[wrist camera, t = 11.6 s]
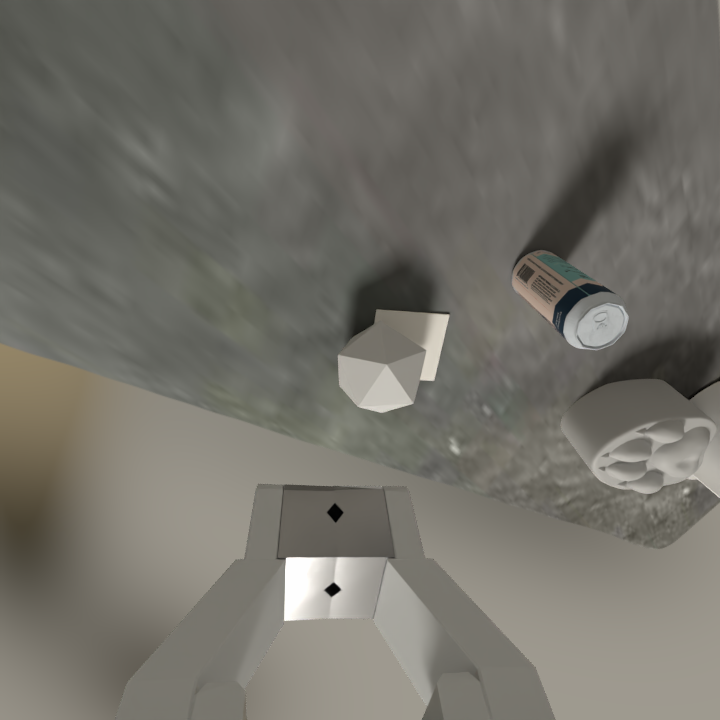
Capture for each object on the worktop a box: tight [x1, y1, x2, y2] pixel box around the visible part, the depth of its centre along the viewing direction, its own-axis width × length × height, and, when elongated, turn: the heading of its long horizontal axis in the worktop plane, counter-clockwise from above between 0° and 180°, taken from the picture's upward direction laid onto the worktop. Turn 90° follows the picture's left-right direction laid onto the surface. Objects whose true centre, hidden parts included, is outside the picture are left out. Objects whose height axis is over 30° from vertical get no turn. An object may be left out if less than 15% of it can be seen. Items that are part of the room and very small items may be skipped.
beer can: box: [512, 250, 629, 350], centre depth 37 cm, size 5×5×12 cm
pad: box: [374, 309, 449, 381], centre depth 45 cm, size 8×8×1 cm
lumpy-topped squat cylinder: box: [561, 379, 717, 494], centre depth 49 cm, size 10×13×9 cm
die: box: [338, 321, 427, 413], centre depth 42 cm, size 8×9×10 cm
